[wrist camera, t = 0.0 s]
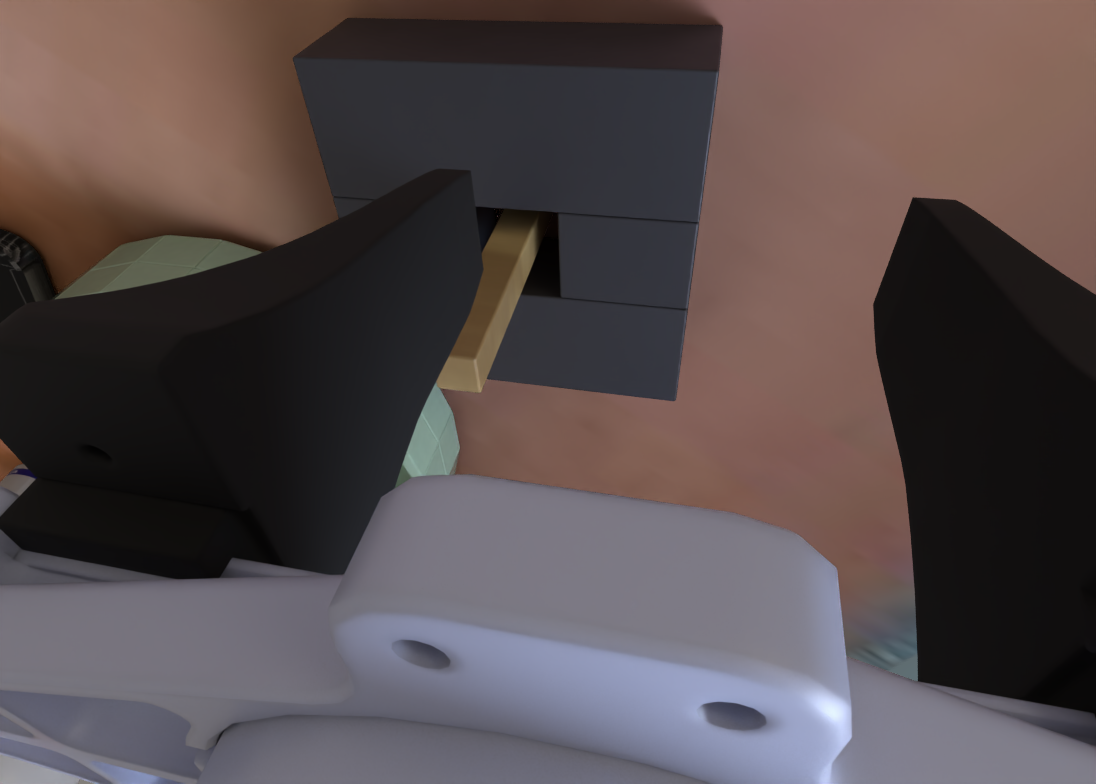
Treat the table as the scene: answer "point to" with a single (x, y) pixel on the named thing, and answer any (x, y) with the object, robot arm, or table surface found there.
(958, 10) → the table surface
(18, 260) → the phone
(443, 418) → the bowl
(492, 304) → the stick
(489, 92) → the stand
